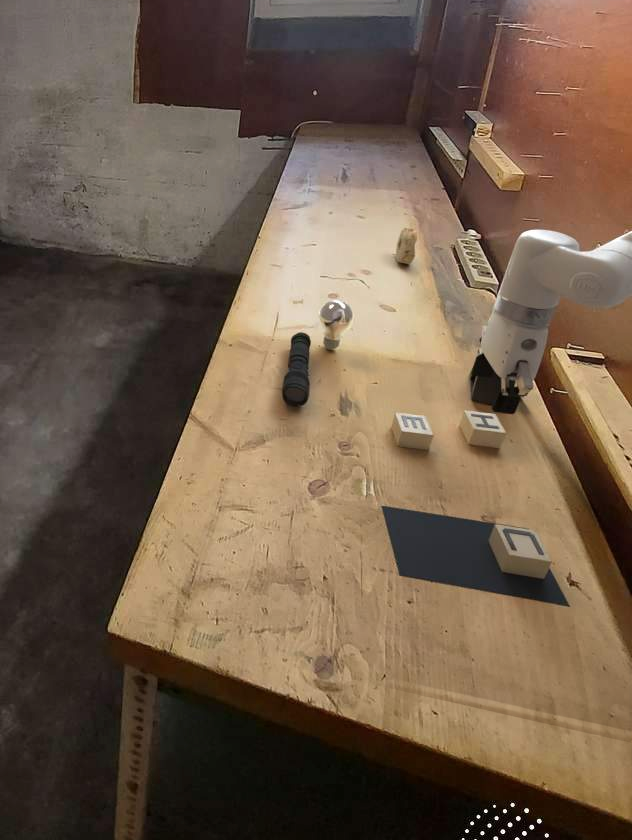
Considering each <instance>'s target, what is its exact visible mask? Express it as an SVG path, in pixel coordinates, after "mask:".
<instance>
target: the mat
mask: <svg viewBox="0 0 632 840" xmlns="http://www.w3.org/2000/svg"><path fill="white" fill-rule="evenodd" d="M380 507H381V510H382V513H383V518H384V522H385V525H386V529H387V530H386V531H387V533H388V536H389V541H390V544H391V548H392V553H393V556H394V560H395V563H396V567H397V572H398V575H399V576H400V577H405V578H410V579H415V580H420V581H427V582H432V583H438V584H442V585H443V584H444V585H449V586H453V587H459V588H464V589H469V590H476V591H482V592H487V593H493V594H498V595H503V596H508V597H509V596H510V597H513V598H514V597H515V598H519V599H525V600H529V601H531V600H532V601H536V602H541V603H548V604H553V605H559V606H563V607H568V608H570V603H569V602H568V600H567V598H566V596H565V594H564V592H563V591H562V588H561V587H560V584H559V582H558V581H557V579H556V577H555V575H554V574H553V572H552V570H551V567H550V568H549V570H548V572H547V574H546V576H545V578H544V579H541V578H535V577H530V576H524V575H518V574H512V573H507V572H502V571H501V568H500V566H499V564H498V561H497V559H496V557H495V555H494V552H493V550H492V548H491V546H490V543H489V538H490V536H491V533H492V531H493V528H494V526H495V524H498V525H504V526H510V527H517V528H523V529H529V528H527V527H521V526H513V525H508V524H502V523H496V522H488V521H482V520H475V519H470V518H463V517H457V516H451V515H444V514H438V513H432V512H425V511H419V510H413V509H406V508H400V507H395V506H388V505H381V506H380Z"/></svg>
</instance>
